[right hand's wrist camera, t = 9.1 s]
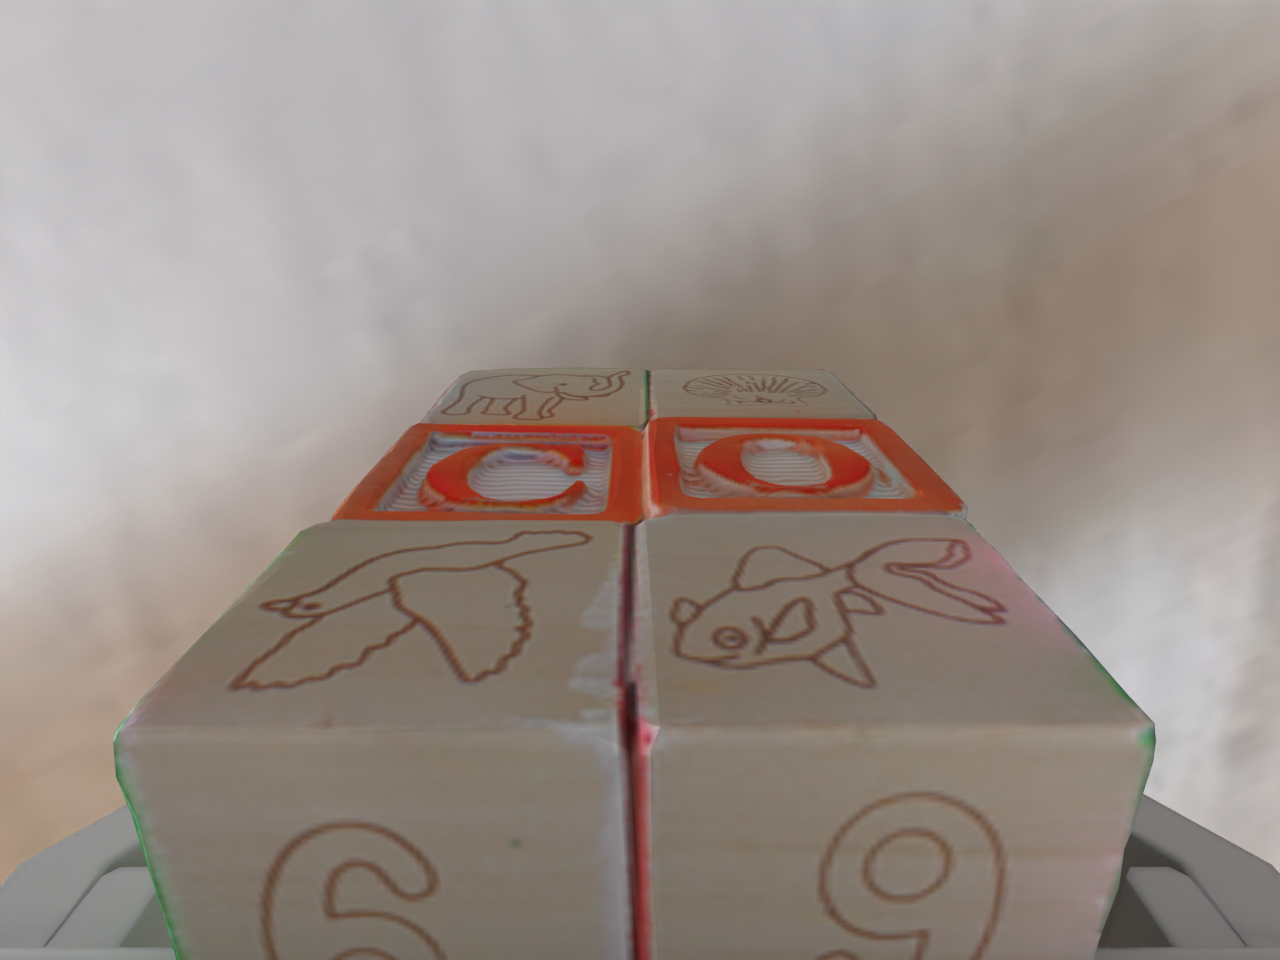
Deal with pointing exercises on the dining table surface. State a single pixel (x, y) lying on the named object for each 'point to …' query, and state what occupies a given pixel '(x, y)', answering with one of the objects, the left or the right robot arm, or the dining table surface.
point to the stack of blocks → (638, 702)
